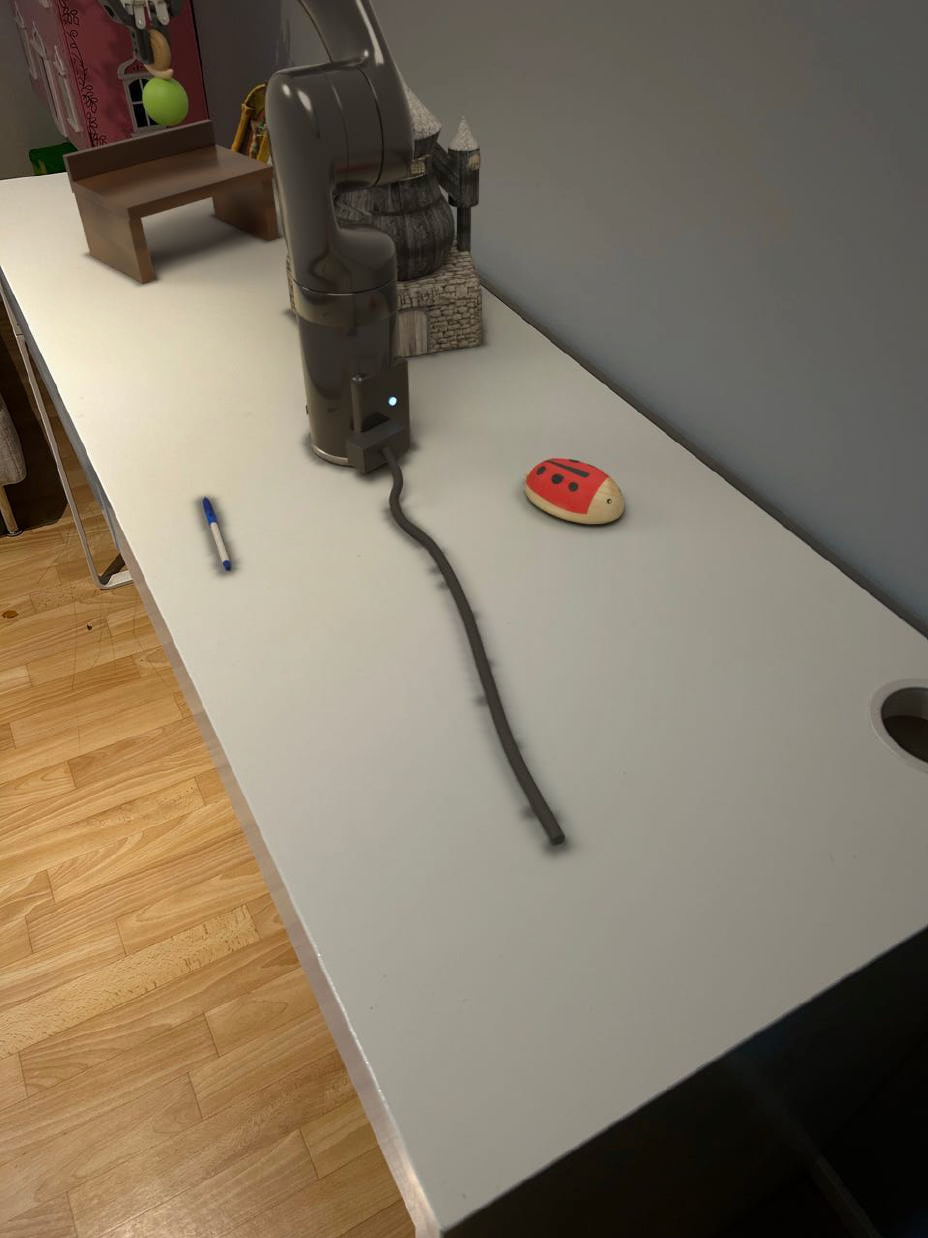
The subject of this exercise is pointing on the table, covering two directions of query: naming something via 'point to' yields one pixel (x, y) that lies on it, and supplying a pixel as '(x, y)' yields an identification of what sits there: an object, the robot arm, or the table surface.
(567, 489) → the ladybug figurine
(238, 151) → the shrine
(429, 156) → the miniature castle
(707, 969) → the table surface
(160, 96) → the snail figurine
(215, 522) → the ballpoint pen
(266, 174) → the miniature wooden bench
